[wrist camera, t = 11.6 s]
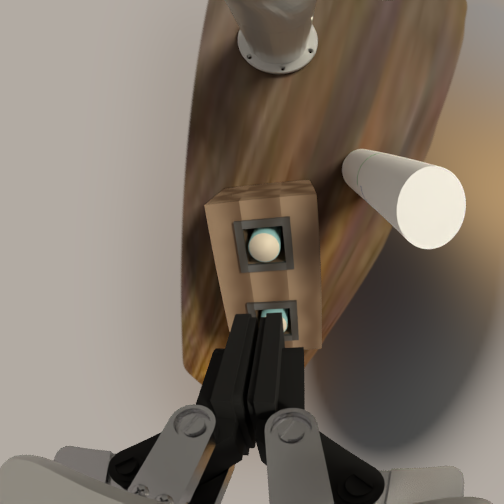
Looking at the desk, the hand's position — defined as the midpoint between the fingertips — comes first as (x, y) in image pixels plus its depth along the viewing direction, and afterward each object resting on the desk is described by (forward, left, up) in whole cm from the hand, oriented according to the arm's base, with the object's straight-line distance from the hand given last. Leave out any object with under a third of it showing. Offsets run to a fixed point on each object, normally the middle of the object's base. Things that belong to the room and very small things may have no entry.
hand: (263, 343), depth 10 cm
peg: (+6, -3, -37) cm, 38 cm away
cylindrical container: (-1, +13, -38) cm, 41 cm away
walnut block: (+12, -3, -38) cm, 40 cm away
